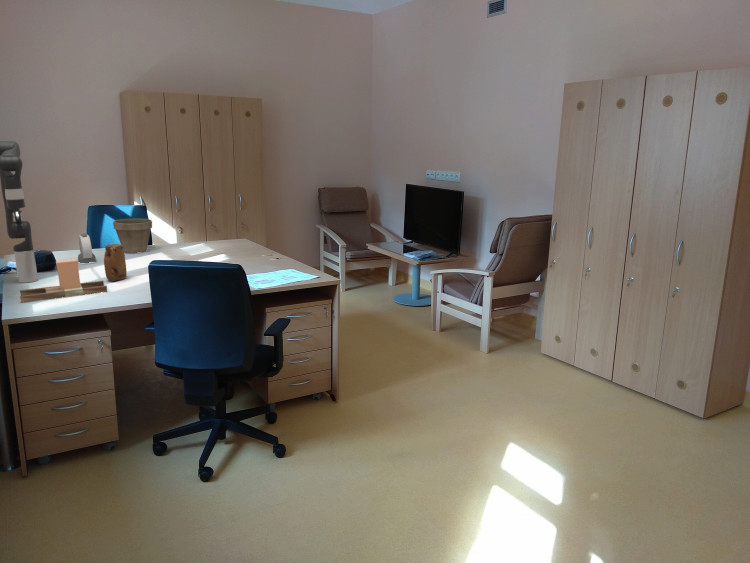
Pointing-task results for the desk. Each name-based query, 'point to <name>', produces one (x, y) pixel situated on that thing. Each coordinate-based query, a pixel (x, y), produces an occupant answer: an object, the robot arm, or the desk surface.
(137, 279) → the desk surface
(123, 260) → the block
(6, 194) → the robot arm
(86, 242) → the grey piece
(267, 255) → the desk surface
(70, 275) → the block
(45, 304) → the desk surface
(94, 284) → the track
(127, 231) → the plant pot
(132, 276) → the desk surface
